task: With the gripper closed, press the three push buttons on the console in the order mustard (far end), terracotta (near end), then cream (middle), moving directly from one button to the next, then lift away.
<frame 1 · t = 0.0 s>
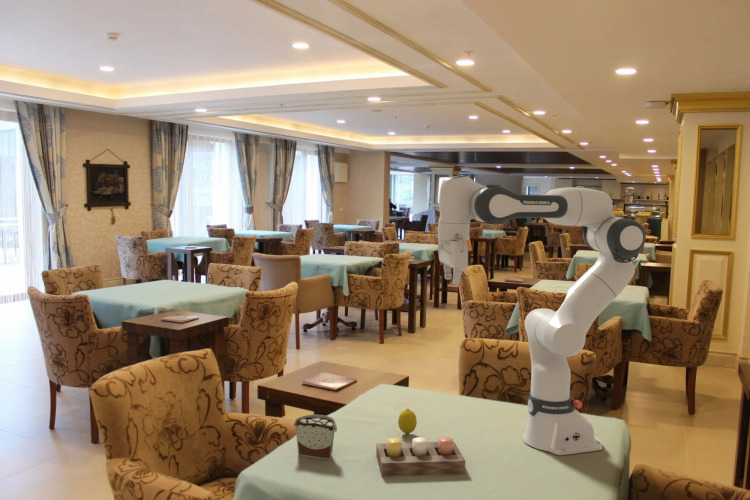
hand: (452, 281, 167), 48 cm above the table, tool pointing down, fingers open, 8 cm apart
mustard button: (394, 447, 158), point 5 cm above the table, slide at 0.0 cm
lemon: (407, 435, 179), on the table
terracotta button: (445, 446, 159), point 5 cm above the table, slide at 0.0 cm
food container: (318, 453, 165), on the table
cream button: (419, 446, 159), point 5 cm above the table, slide at 0.0 cm
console: (419, 464, 159), on the table
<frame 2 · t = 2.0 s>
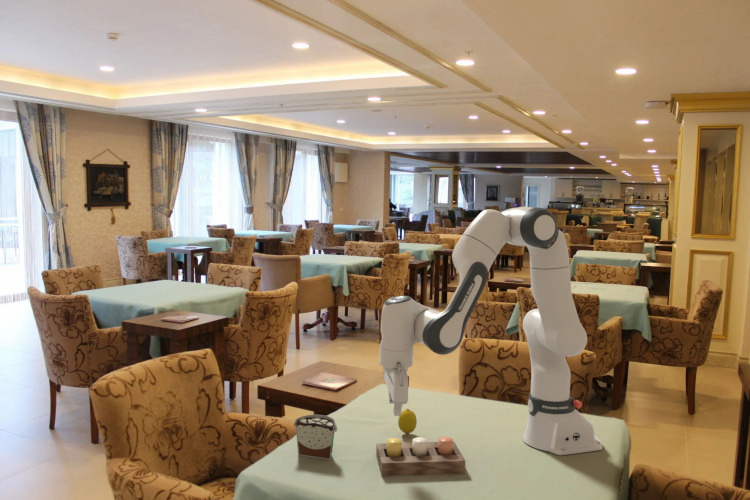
hand: (394, 408, 157), 16 cm above the table, tool pointing down, fingers open, 8 cm apart
nothing on the table moved.
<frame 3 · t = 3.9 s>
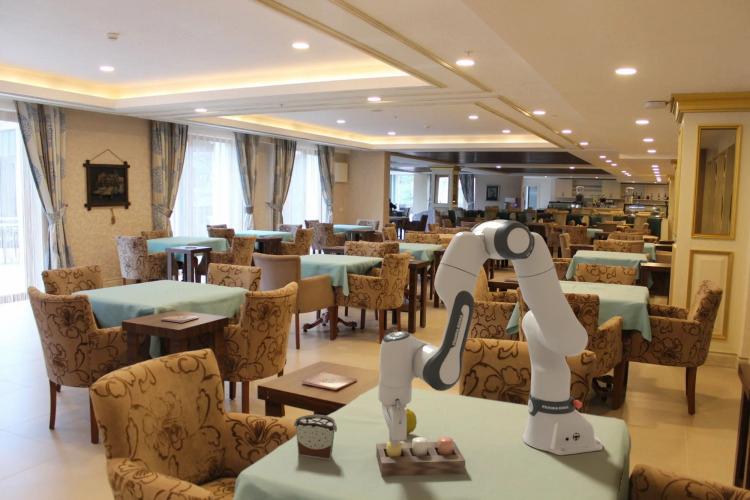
hand: (393, 443, 158), 6 cm above the table, tool pointing down, fingers closed, pressing on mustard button
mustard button: (393, 450, 158), point 4 cm above the table, slide at 0.8 cm, touching gripper
everything else where it was.
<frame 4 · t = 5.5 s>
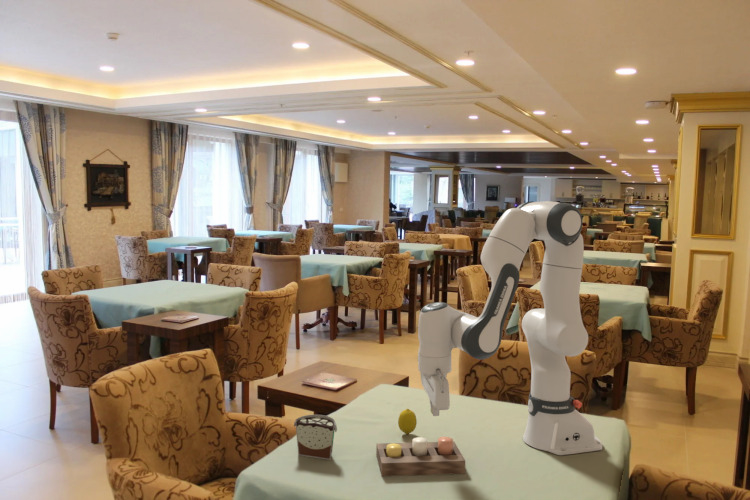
hand: (434, 414, 158), 14 cm above the table, tool pointing down, fingers closed
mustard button: (393, 452, 158), point 3 cm above the table, slide at 1.5 cm
everything else where it was.
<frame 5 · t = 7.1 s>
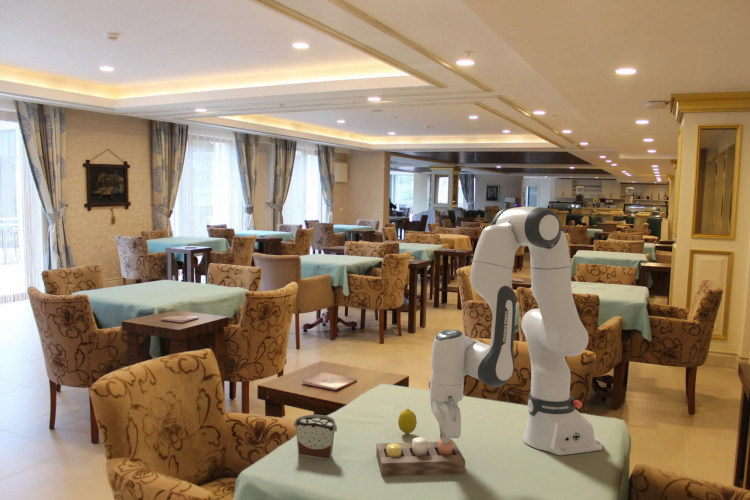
hand: (444, 440, 159), 6 cm above the table, tool pointing down, fingers closed, pressing on terracotta button
terracotta button: (445, 447, 159), point 5 cm above the table, slide at 0.3 cm, touching gripper
everything else where it was.
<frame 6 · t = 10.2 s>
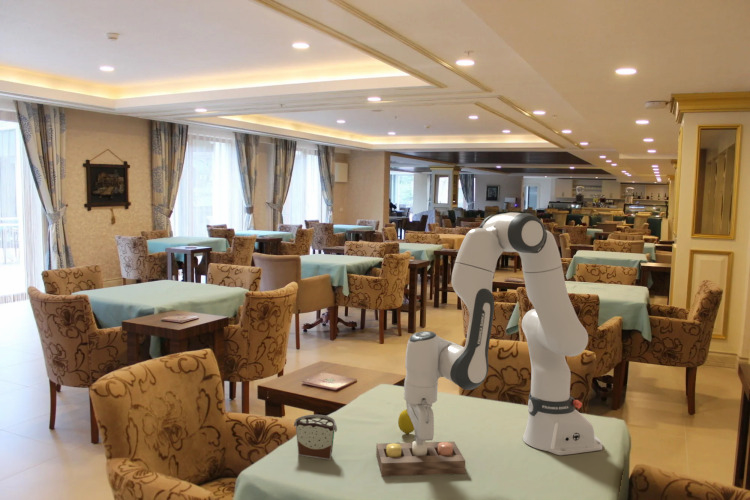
hand: (418, 443, 158), 6 cm above the table, tool pointing down, fingers closed, pressing on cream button
terracotta button: (445, 451, 159), point 3 cm above the table, slide at 1.5 cm
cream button: (419, 449, 159), point 4 cm above the table, slide at 0.8 cm, touching gripper
everything else where it was.
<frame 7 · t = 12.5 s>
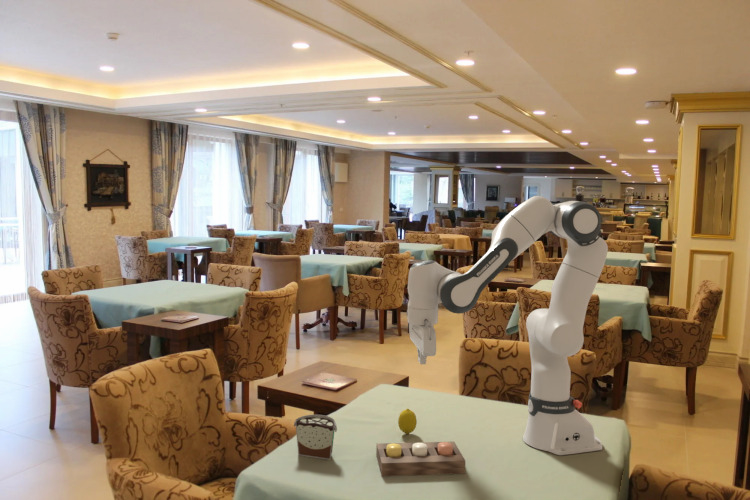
hand: (422, 363, 172), 23 cm above the table, tool pointing down, fingers closed
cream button: (419, 452, 159), point 3 cm above the table, slide at 1.5 cm
everything else where it was.
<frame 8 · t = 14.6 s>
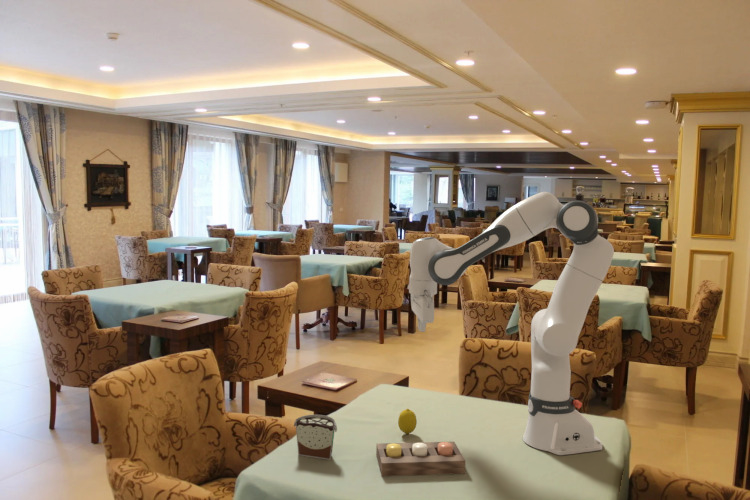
hand: (421, 330, 189), 29 cm above the table, tool pointing down, fingers closed
nothing on the table moved.
at the end: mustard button slide at 1.5 cm; terracotta button slide at 1.5 cm; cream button slide at 1.5 cm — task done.
